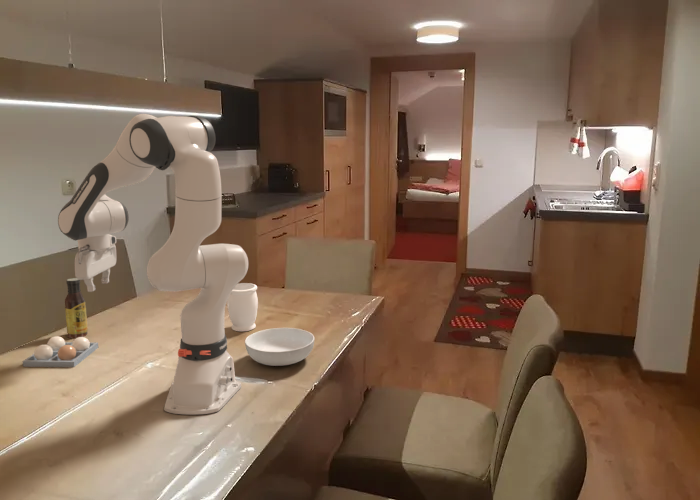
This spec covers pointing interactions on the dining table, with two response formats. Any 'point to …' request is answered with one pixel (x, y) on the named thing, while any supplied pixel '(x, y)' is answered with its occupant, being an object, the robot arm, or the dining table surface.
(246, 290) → the jar
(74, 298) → the sauce bottle
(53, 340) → the white egg
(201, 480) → the dining table surface
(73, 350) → the brown egg
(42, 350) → the white egg
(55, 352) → the egg tray
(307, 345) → the serving bowl
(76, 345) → the white egg
